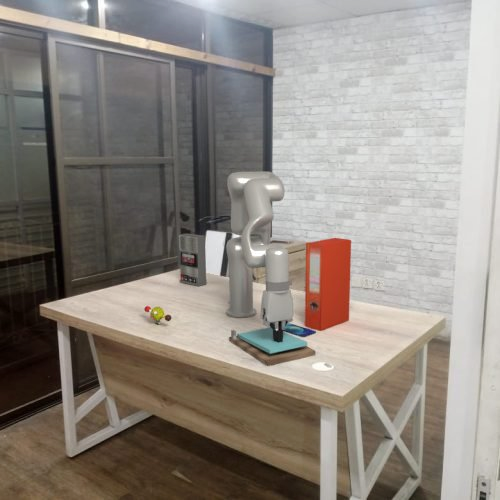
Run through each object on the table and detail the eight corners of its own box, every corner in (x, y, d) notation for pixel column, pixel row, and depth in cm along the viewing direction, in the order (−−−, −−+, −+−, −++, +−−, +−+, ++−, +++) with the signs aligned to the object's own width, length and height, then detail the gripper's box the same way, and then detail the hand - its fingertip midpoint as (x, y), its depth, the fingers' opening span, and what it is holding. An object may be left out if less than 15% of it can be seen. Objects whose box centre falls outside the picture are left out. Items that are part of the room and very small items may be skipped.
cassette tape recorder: (179, 282, 269) (177, 234, 265) (187, 280, 274) (186, 233, 269) (198, 286, 260) (196, 237, 256) (206, 284, 265) (205, 235, 261)
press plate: (236, 336, 182) (236, 333, 182) (270, 330, 188) (270, 326, 188) (270, 353, 162) (269, 349, 162) (307, 345, 168) (307, 341, 168)
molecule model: (139, 320, 207) (139, 303, 206) (152, 317, 211) (151, 301, 210) (163, 331, 194) (162, 313, 193) (176, 328, 197) (175, 310, 196)
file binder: (349, 321, 203) (351, 239, 197) (321, 331, 191) (322, 245, 186) (332, 316, 209) (333, 237, 203) (304, 326, 197) (305, 242, 191)
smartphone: (303, 336, 185) (273, 326, 196) (303, 338, 185) (273, 328, 196) (317, 331, 190) (286, 322, 201) (317, 333, 190) (286, 324, 201)
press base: (229, 341, 182) (229, 329, 182) (273, 332, 191) (273, 321, 190) (267, 366, 160) (267, 352, 159) (315, 355, 168) (315, 342, 168)
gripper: (290, 281, 174) (291, 334, 177) (251, 286, 167) (252, 342, 170) (303, 285, 168) (303, 340, 170) (263, 291, 161) (264, 348, 163)
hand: (278, 341), depth 170 cm, fingers closed
